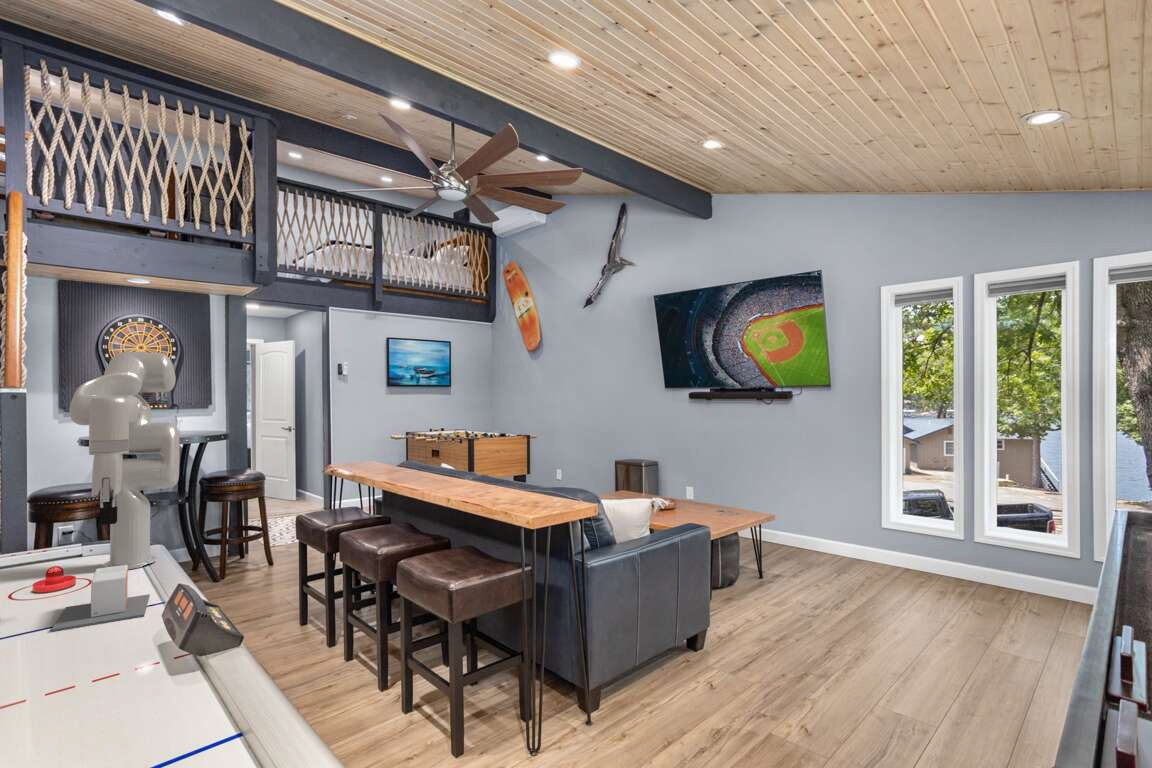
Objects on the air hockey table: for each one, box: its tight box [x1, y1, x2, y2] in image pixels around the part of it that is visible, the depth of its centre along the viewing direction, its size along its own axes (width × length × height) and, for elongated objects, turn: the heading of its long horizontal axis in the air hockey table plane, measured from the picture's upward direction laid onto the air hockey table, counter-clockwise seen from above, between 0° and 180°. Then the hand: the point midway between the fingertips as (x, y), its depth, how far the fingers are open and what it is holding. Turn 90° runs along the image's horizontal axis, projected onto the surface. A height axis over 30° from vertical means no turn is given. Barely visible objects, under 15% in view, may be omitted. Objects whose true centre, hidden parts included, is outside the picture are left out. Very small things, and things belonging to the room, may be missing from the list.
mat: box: [50, 594, 151, 633], centre depth 135 cm, size 16×16×1 cm
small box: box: [90, 565, 129, 617], centre depth 138 cm, size 8×6×13 cm
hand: (108, 523), depth 140 cm, fingers closed
